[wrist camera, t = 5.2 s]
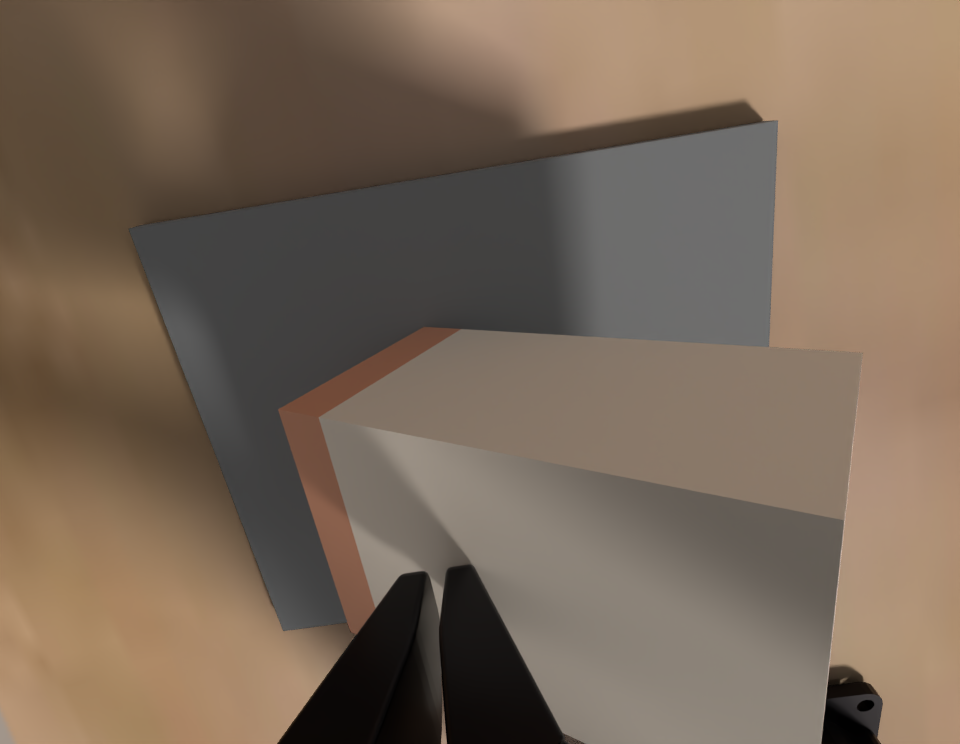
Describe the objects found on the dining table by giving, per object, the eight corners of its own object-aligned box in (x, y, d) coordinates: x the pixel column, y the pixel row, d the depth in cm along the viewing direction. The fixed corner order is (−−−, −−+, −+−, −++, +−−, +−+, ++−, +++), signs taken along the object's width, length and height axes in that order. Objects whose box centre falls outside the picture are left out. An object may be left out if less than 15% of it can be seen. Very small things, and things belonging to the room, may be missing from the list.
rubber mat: (765, 120, 12) (777, 120, 11) (751, 555, 16) (760, 567, 15) (141, 225, 12) (128, 228, 12) (288, 616, 16) (283, 631, 16)
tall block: (424, 327, 13) (862, 352, 8) (462, 514, 14) (835, 617, 10) (278, 409, 10) (844, 520, 5) (350, 631, 12) (809, 850, 7)
